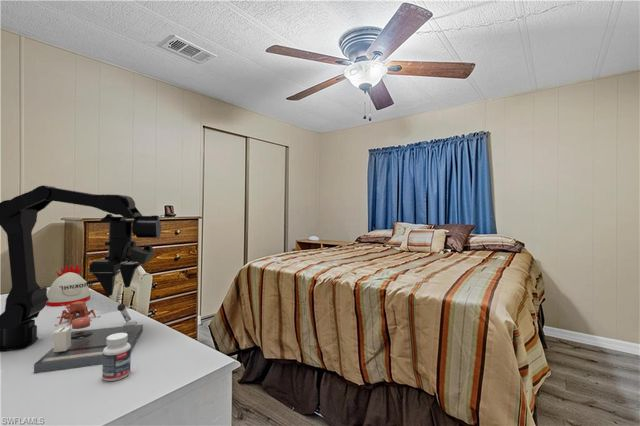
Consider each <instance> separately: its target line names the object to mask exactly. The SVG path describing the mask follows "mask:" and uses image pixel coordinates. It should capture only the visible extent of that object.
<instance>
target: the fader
mask: <svg viewBox="0 0 640 426" xmlns="http://www.w3.org/2000/svg"><path fill="white" fill-rule="evenodd" d="M71 332H72V326H68V327H67V326H66V327H59V328H58V329H56V330H55V331H53V348H54V352H61V351H66V350H67V349H68V348H69V347H70V346H71Z"/></svg>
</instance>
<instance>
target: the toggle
mask: <svg viewBox="0 0 640 426" xmlns="http://www.w3.org/2000/svg"><path fill="white" fill-rule="evenodd" d="M116 309H117V311H119V312H120V313H121V315H122V317H123V319H124V321H125V323H126V322H130V321H132V318H131V316H130V314H129V312H128V311H127V309H126V304H124V303H120V304H118V305H117V307H116Z"/></svg>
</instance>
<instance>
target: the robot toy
mask: <svg viewBox="0 0 640 426" xmlns="http://www.w3.org/2000/svg"><path fill="white" fill-rule="evenodd" d="M88 283H89V284H88ZM80 285H82V287H83V286H84V287H86V285H87V286H88V287H93V286H94V285H93V280H91V281H88V282H87V283H84V285H83V284H79V287H80V288H82V287H81V286H80ZM75 286H76V287H77V288H78V284H77V285H75ZM60 287H62V290H63V286H60ZM71 287H72V286H71V285H70V289H71ZM76 287H75V288H76ZM66 288H67V289H68V285H67V287H66V286H64V290H66ZM72 289H74V285H73V287H72ZM86 302H87V301H77V302H74V303H71V304H70V305H69V304H68V305H67V306H65V308H66V309H64V310H62V311H61V316H57V317H56V319H59V323H58V324H54V327H57V326H59V325H62V322H63V320H69V324H66V327H67V326H68V327H69V326H72V320H74V319H76V317H77V315H78V316H80V317H89V316H90V315H91V314H92V315H93V317H94V318H100V317H101V315H99V316H96V313H95V310H94V309H90V310H89V309H88V306H87V305H86V304H87V303H86ZM92 321H93V320H92V319H90V322H92Z"/></svg>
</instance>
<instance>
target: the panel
mask: <svg viewBox="0 0 640 426" xmlns="http://www.w3.org/2000/svg"><path fill="white" fill-rule="evenodd" d="M143 331H144V324H138V320H131V321H127V322H126V321H125V323H124V324H123V325H122V326H112V327H105V328H104V327H103V328H102V327H101V328H95V329H94V328H93V329H84V330H83V329H82V330H74V331H72V330H71V346H70V347H69V348H68V349H67V350H66V351H61V352H54V347H53V348H52V349H50V350H49V351H48V352H47V353H45V354H44V355H43V356H42V357H41V358H39V359H38V361H36V362H35V363H34V364H33V374H38V373H44V372H53V371H60V370H67V369H68V370H69V369H74V368H82V367H89V366H97V365H103V350H104V348H105V347H107V346H108V345H107V343H106V340H107V337H108V336H110V335H112V334H116V333H127V334H128V341H127V343H129V344H130V346H131V351H133V348H134V347H135V345H136V344H137V341H138V340H139V339H140V337H141V334H142V333H143ZM37 372H38V373H37Z"/></svg>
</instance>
